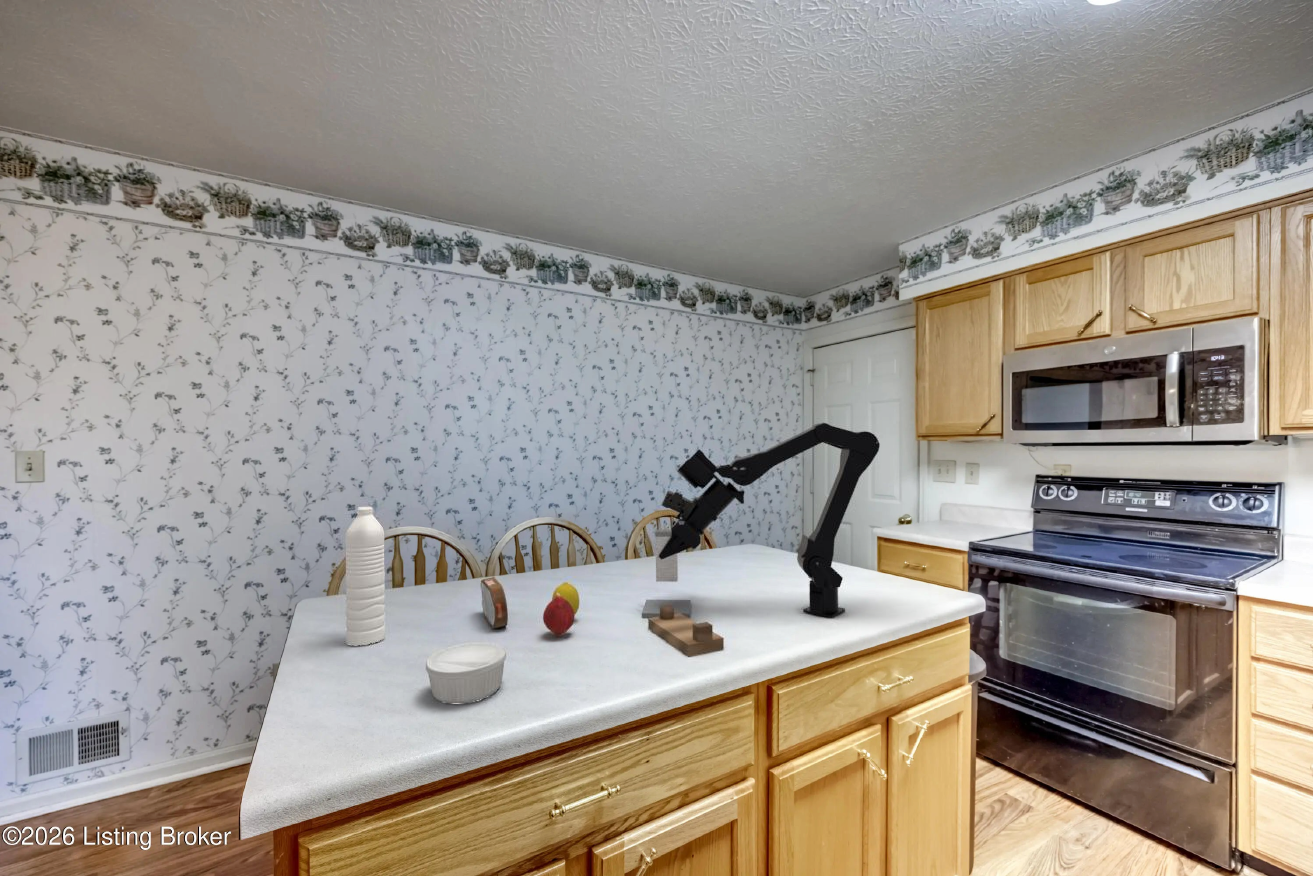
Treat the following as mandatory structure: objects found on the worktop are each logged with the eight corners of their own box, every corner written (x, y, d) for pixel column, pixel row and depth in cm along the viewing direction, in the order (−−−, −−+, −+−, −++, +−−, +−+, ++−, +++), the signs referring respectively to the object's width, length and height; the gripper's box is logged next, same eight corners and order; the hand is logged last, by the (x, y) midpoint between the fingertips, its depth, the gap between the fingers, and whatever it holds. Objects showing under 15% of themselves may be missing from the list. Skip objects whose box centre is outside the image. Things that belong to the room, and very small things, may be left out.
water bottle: (346, 638, 105) (345, 506, 105) (384, 632, 108) (383, 503, 108) (345, 653, 97) (344, 510, 98) (387, 646, 100) (385, 508, 101)
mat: (690, 604, 124) (690, 599, 124) (690, 618, 114) (690, 613, 114) (646, 604, 125) (646, 599, 125) (641, 618, 115) (641, 613, 115)
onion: (580, 632, 106) (579, 590, 107) (565, 642, 101) (565, 598, 101) (553, 629, 108) (552, 588, 108) (537, 639, 103) (537, 596, 103)
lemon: (582, 617, 116) (581, 578, 116) (575, 626, 110) (575, 585, 110) (556, 617, 116) (555, 578, 116) (548, 625, 111) (548, 585, 111)
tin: (509, 631, 108) (508, 588, 108) (492, 634, 106) (492, 590, 106) (494, 611, 121) (493, 572, 121) (479, 613, 120) (478, 574, 120)
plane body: (647, 628, 108) (647, 605, 108) (679, 622, 111) (679, 600, 111) (688, 656, 93) (688, 629, 94) (723, 649, 97) (723, 623, 97)
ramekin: (427, 716, 75) (426, 676, 75) (425, 683, 85) (425, 648, 85) (512, 699, 79) (511, 662, 79) (500, 670, 89) (500, 637, 89)
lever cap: (677, 577, 121) (676, 529, 121) (677, 581, 117) (676, 531, 118) (657, 577, 121) (656, 529, 121) (656, 581, 118) (655, 532, 118)
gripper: (684, 475, 128) (638, 523, 129) (682, 480, 110) (628, 537, 111) (719, 508, 128) (672, 557, 129) (723, 520, 109) (668, 576, 110)
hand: (660, 556), depth 119 cm, fingers closed on lever cap, 3 cm apart
